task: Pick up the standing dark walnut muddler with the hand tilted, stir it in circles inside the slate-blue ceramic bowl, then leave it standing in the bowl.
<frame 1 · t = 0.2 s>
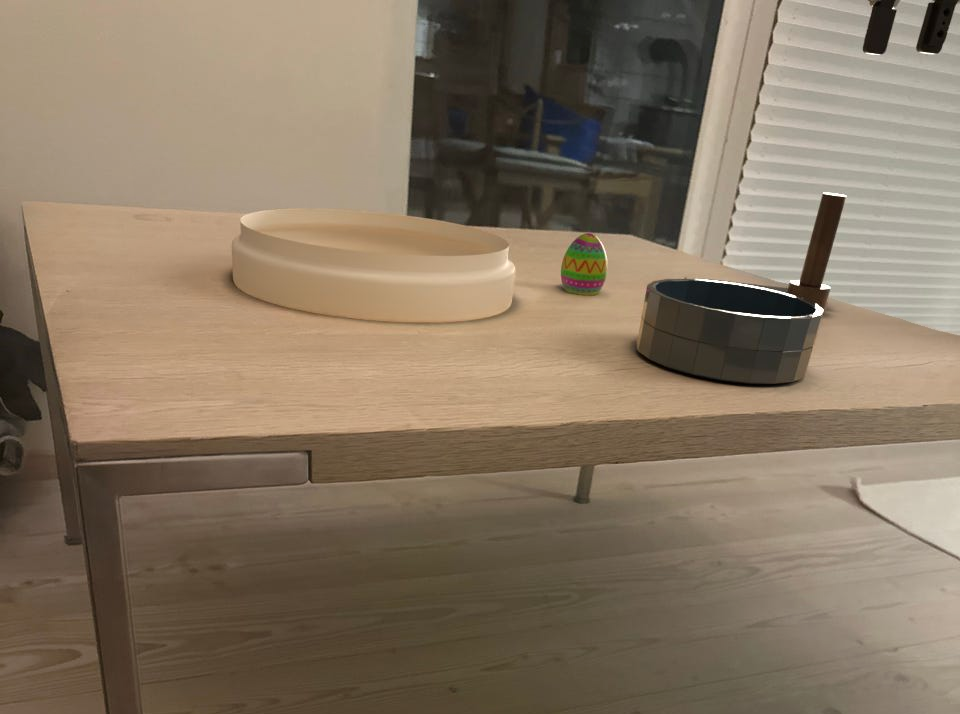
hand: (898, 53, 87), 25 cm above the table, tool pointing down, fingers open, 8 cm apart
cream round tray: (374, 292, 91), on the table
bowl: (718, 364, 78), on the table
egg: (580, 295, 100), on the table
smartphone: (752, 298, 108), on the table
muddler: (802, 312, 103), on the table
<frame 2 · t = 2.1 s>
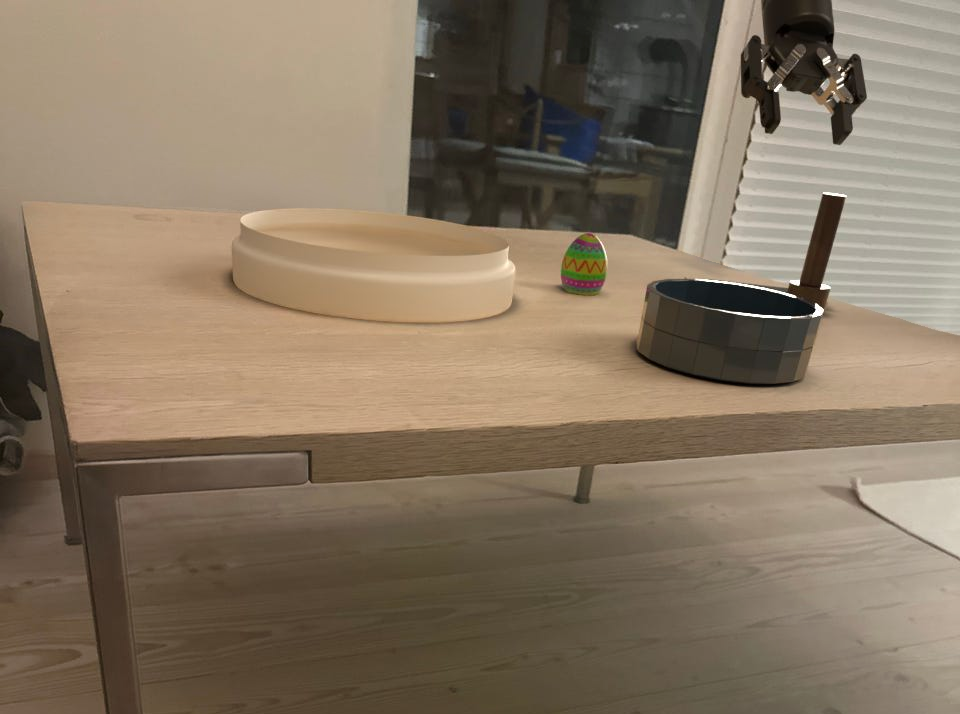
hand: (807, 134, 102), 17 cm above the table, tool tilted 40°, fingers open, 8 cm apart
nothing on the table moved.
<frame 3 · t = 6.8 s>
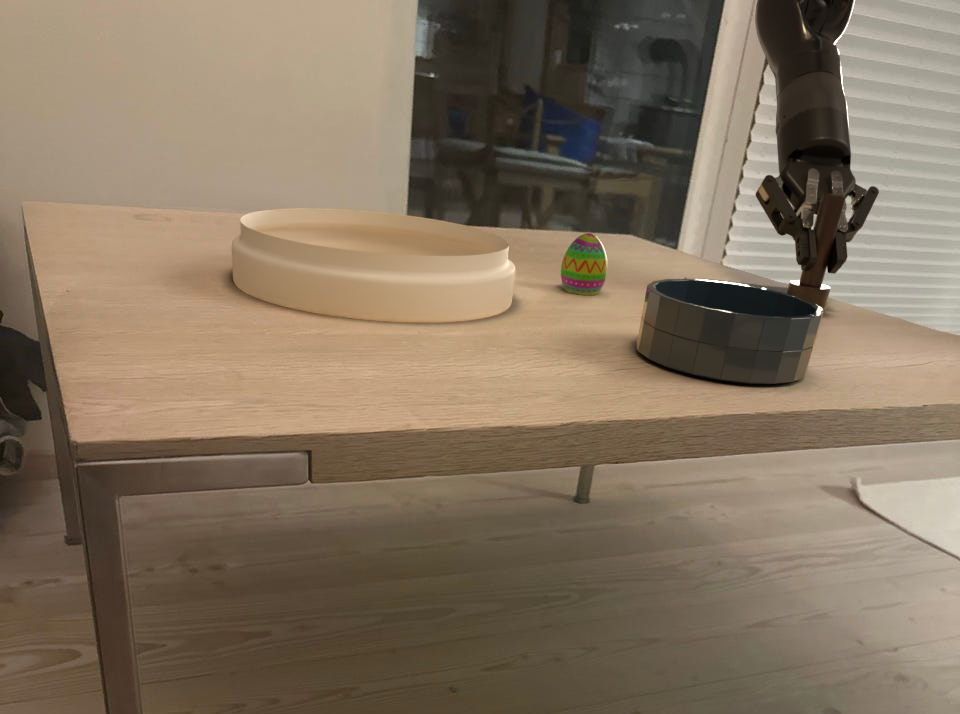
hand: (822, 267, 98), 5 cm above the table, tool tilted 45°, fingers closed on muddler, 2 cm apart
muddler: (802, 312, 103), on the table, touching gripper
everything else where it was.
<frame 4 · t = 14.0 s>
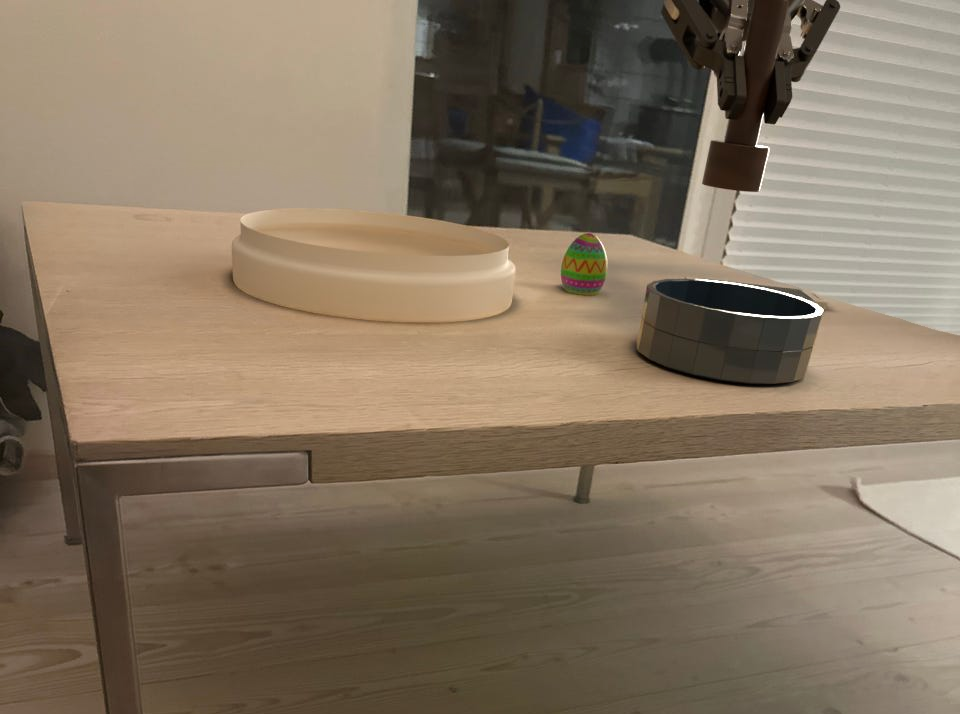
hand: (756, 112, 67), 19 cm above the table, tool tilted 45°, fingers closed on muddler, 2 cm apart
muddler: (730, 187, 71), point 13 cm above the table, touching gripper
everything else where it was.
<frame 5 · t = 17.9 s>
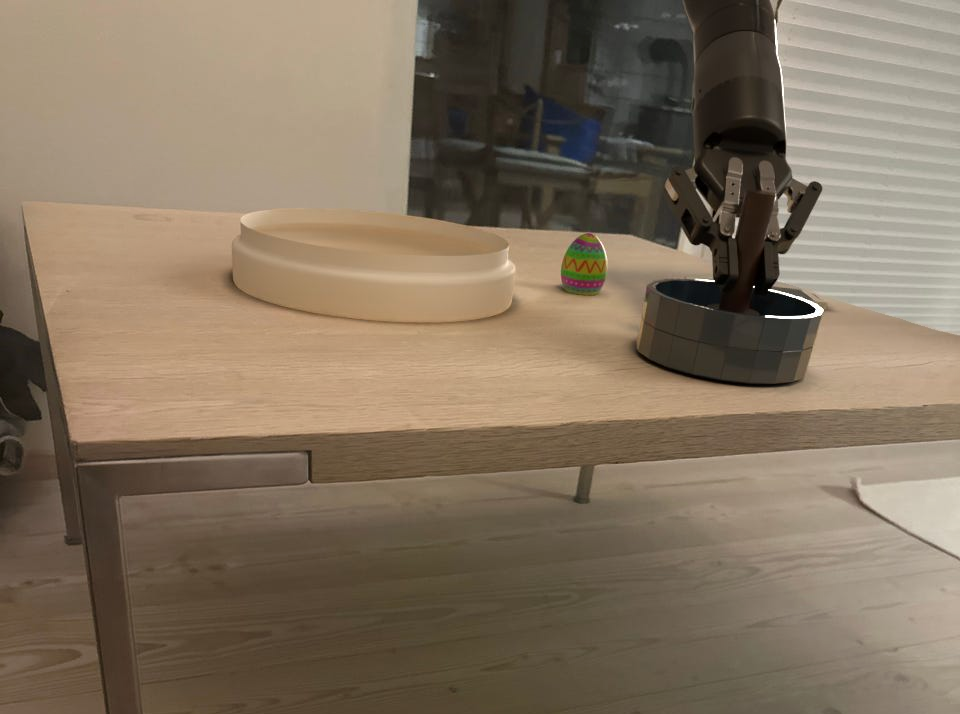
hand: (747, 287, 75), 6 cm above the table, tool tilted 45°, fingers closed on muddler, 2 cm apart
muddler: (724, 345, 79), point 1 cm above the table, touching gripper
everything else where it was.
when the fingers open (6 cm above the table, at t = 21.2 s): muddler stays where it is, resting on bowl.
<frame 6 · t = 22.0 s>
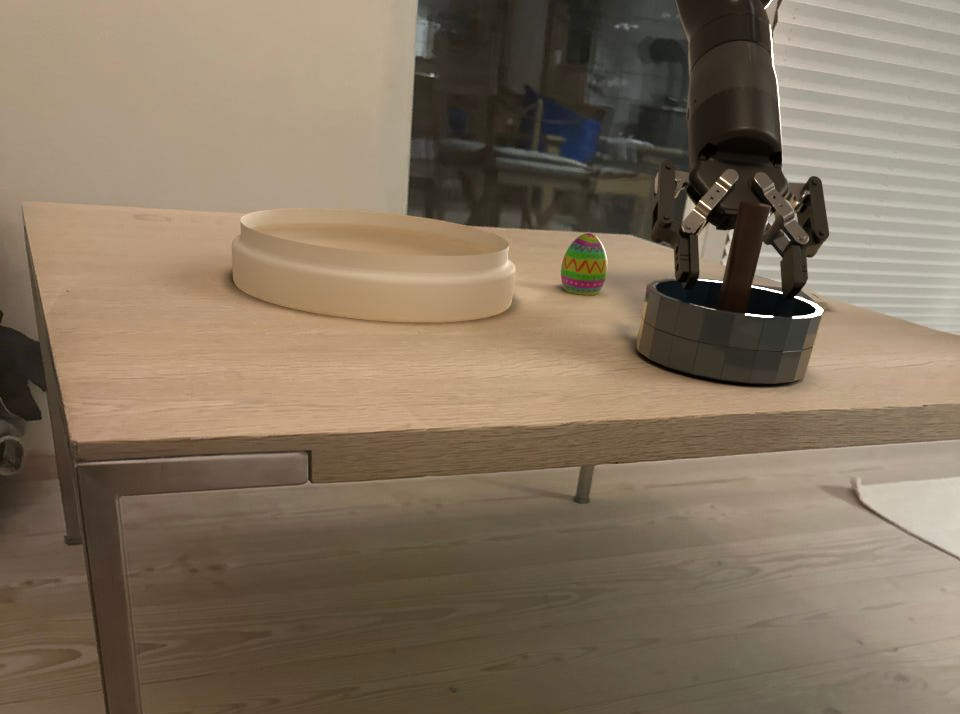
hand: (742, 289, 74), 6 cm above the table, tool tilted 45°, fingers open, 8 cm apart
muddler: (719, 358, 78), resting on bowl
everything else where it was.
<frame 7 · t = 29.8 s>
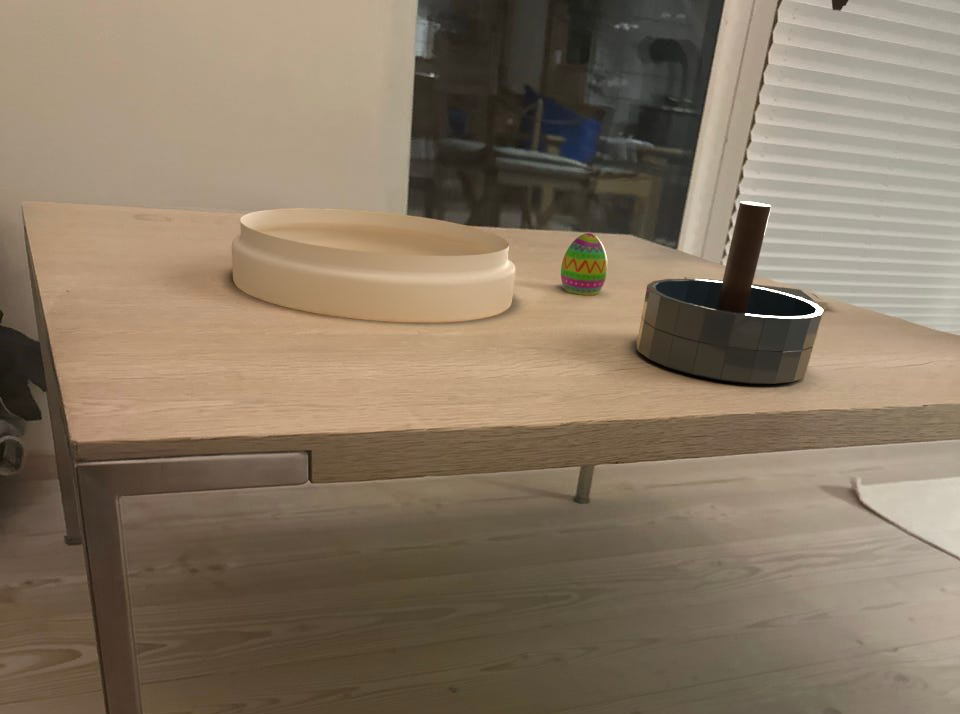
nothing on the table moved.
at the end: muddler inside the target area in the bowl (0.1 cm from its centre), point 0.5 cm above the bowl's base; muddler tilted 0°; muddler moved 32.0 cm from its start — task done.
